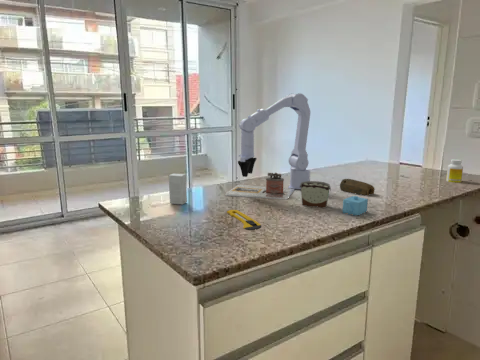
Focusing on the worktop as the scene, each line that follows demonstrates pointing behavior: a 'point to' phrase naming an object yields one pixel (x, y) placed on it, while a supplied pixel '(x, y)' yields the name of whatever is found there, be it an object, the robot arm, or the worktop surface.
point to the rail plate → (257, 194)
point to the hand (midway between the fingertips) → (247, 174)
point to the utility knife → (245, 220)
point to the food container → (315, 193)
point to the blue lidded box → (355, 205)
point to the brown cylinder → (356, 187)
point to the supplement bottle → (454, 171)
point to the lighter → (274, 184)
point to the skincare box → (177, 188)
